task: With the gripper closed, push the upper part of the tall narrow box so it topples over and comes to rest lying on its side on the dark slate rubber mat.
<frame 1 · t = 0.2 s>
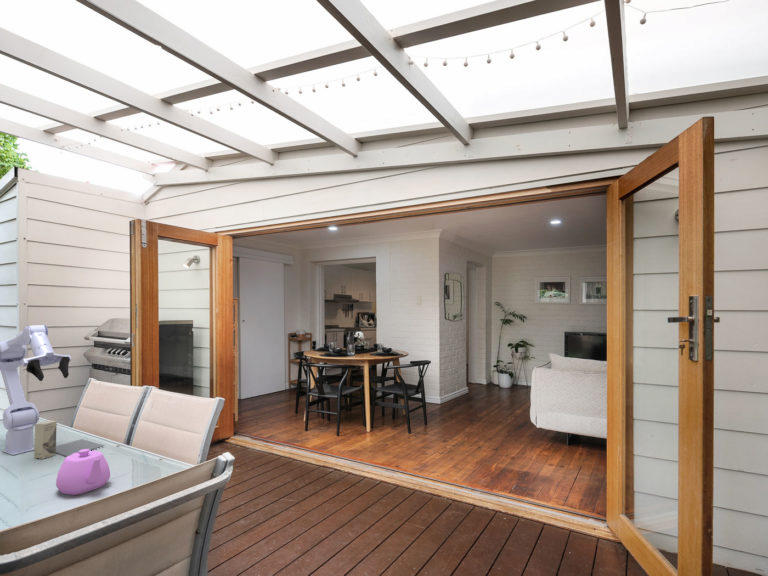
hand: (54, 377, 152), 31 cm above the table, tool tilted 45°, fingers open, 7 cm apart
mat: (75, 448, 168), on the table
box: (45, 457, 159), on the table
teapot: (85, 489, 131), on the table
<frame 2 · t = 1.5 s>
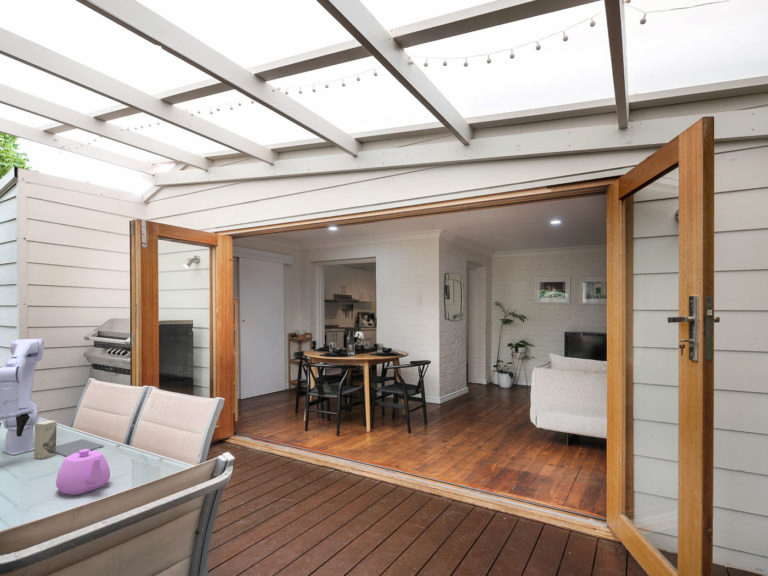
hand: (8, 438, 151), 9 cm above the table, tool pointing down, fingers open, 6 cm apart
nothing on the table moved.
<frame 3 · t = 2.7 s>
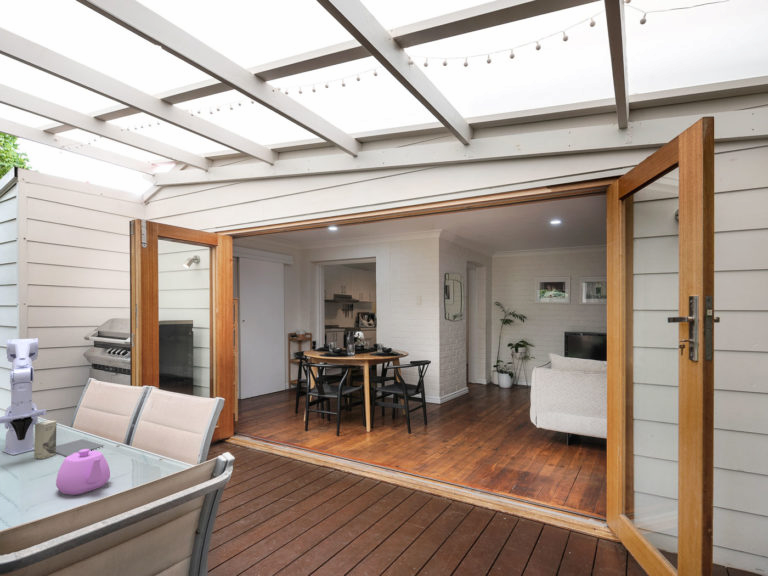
hand: (21, 439, 153), 9 cm above the table, tool pointing down, fingers closed
nothing on the table moved.
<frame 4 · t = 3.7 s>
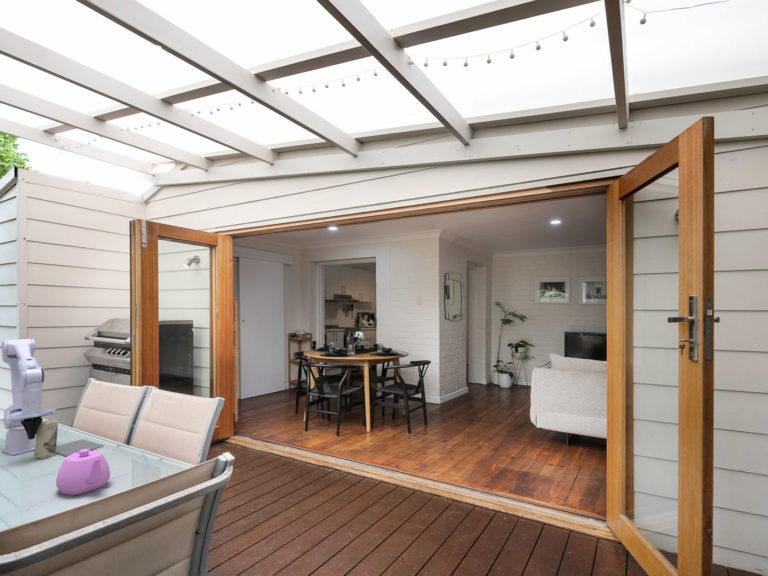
hand: (31, 438, 155), 8 cm above the table, tool pointing down, fingers closed
box: (45, 456, 159), on the table, touching gripper
everything else where it was.
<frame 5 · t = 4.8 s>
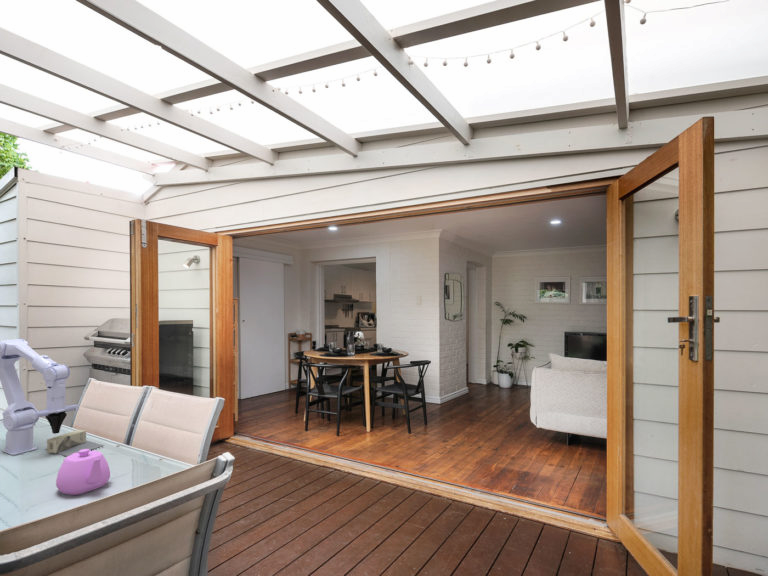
hand: (55, 432, 162), 8 cm above the table, tool pointing down, fingers closed
box: (50, 447, 161), point 3 cm above the table, touching mat
everything else where it was.
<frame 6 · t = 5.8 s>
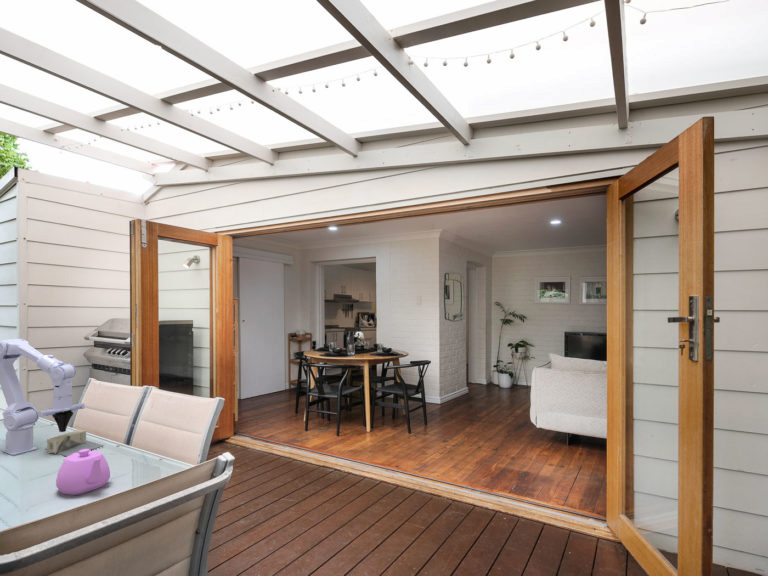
hand: (62, 431, 164), 8 cm above the table, tool pointing down, fingers closed
nothing on the table moved.
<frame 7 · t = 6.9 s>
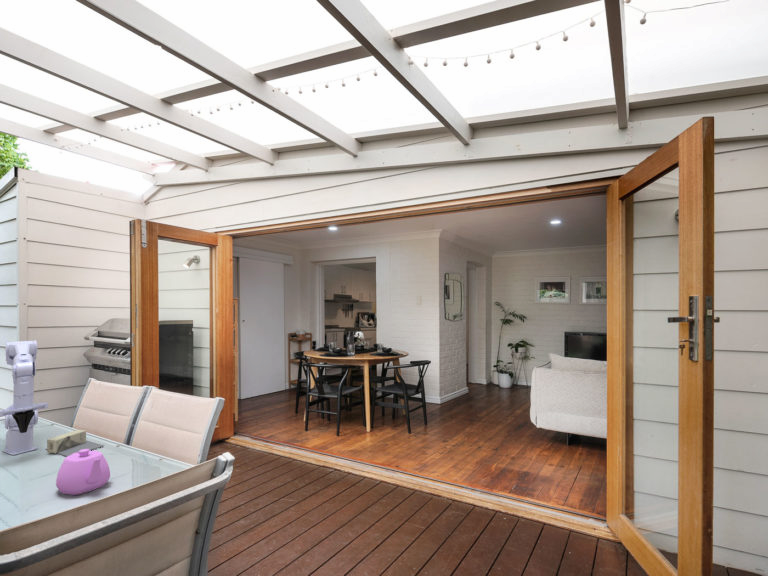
hand: (23, 432, 155), 10 cm above the table, tool pointing down, fingers closed
nothing on the table moved.
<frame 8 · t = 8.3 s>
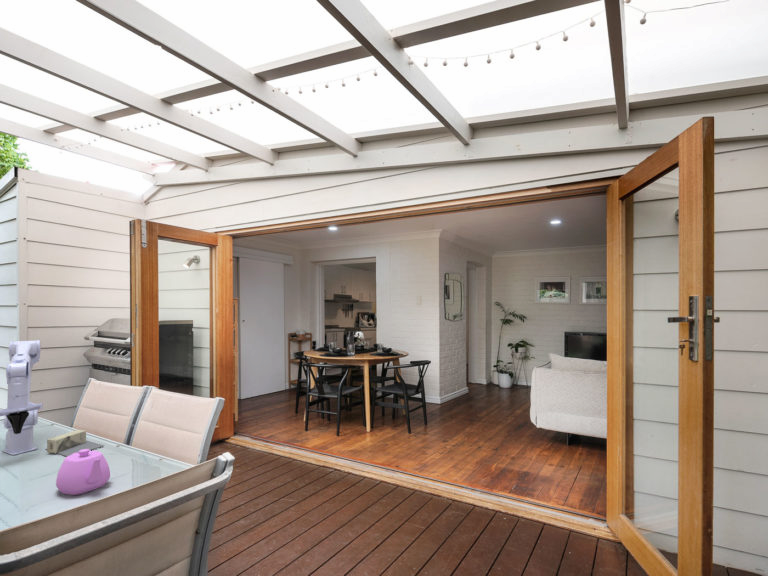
hand: (17, 433, 154), 10 cm above the table, tool pointing down, fingers closed
nothing on the table moved.
at the end: box tilted 89°; box touching mat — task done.
